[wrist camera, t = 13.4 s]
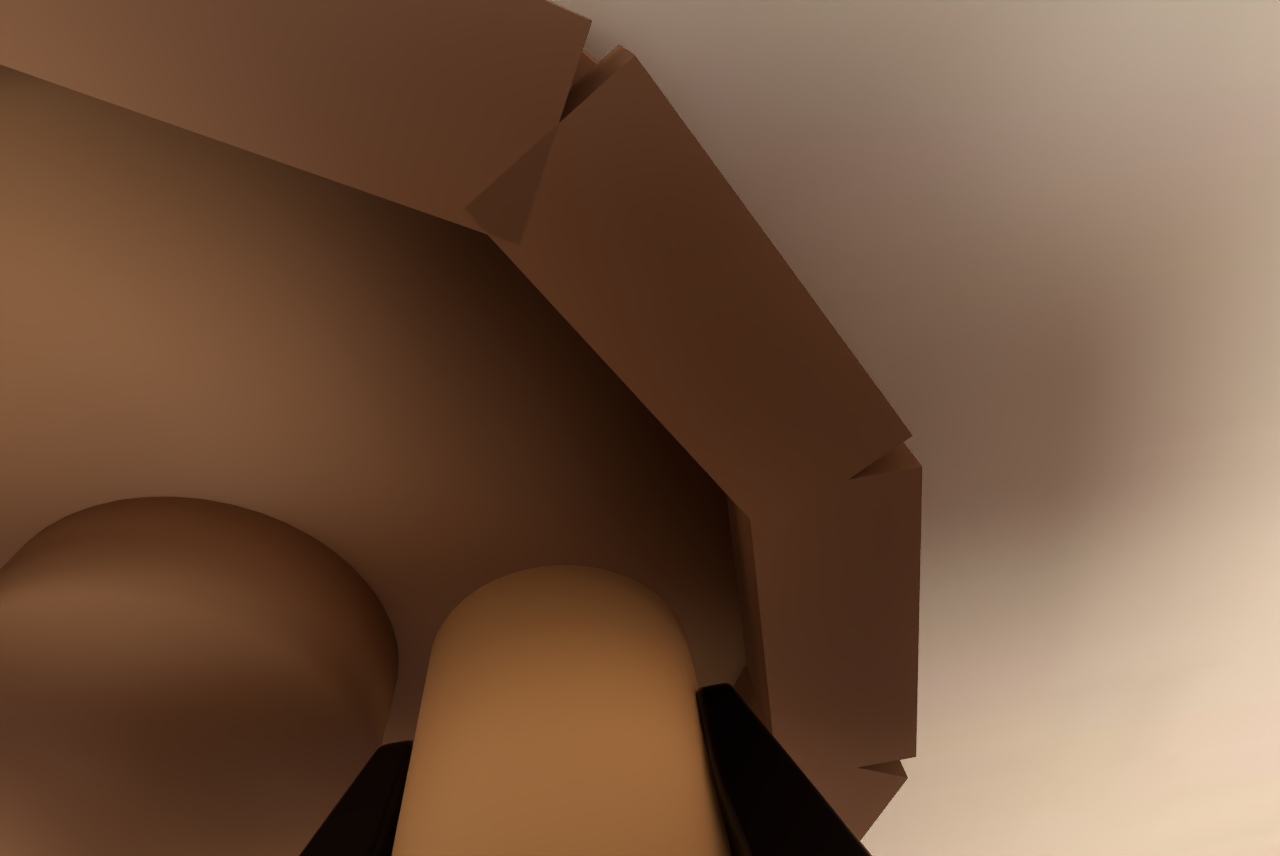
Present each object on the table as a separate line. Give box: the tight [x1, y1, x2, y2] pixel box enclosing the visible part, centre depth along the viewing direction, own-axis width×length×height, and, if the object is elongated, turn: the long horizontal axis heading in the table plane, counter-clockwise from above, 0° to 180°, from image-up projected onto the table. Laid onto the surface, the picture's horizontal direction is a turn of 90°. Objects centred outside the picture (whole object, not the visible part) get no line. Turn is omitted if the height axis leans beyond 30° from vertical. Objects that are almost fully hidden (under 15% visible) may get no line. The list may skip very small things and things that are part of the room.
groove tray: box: [0, 0, 922, 856], centre depth 12 cm, size 20×20×3 cm
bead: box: [391, 565, 732, 856], centre depth 9 cm, size 3×3×4 cm
